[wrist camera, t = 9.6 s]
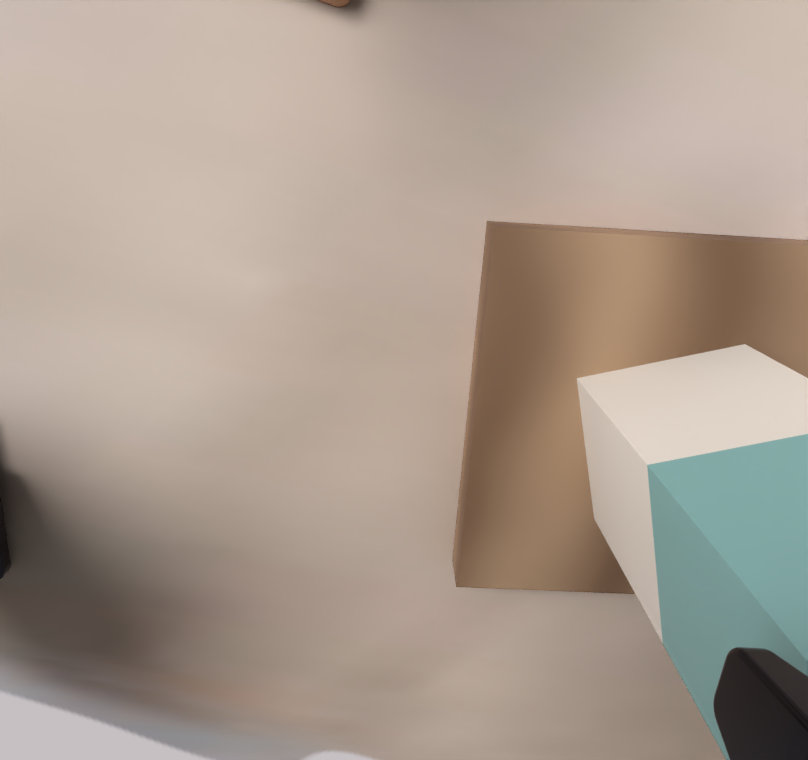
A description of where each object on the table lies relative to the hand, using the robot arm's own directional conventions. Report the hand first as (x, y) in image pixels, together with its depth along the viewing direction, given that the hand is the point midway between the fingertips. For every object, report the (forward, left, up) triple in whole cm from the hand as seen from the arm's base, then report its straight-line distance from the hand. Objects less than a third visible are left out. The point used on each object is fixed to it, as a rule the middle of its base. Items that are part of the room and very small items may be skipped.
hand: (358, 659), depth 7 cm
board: (+9, -2, -13) cm, 16 cm away
